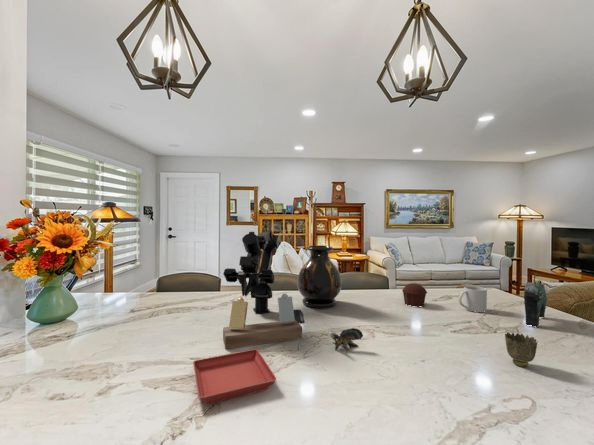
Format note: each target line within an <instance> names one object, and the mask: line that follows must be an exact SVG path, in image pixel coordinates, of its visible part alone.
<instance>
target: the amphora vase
mask: <svg viewBox="0 0 594 445" xmlns="http://www.w3.org/2000/svg"><path fill="white" fill-rule="evenodd" d="M306 250H308V251H309V252H310V257H309V259H308V260H307V261H306V262H305V263H304V264H303V265H302V267H301V268H300V270H299V273H298V276H297V281H296V282H297V283H296V284H297V289H298V291H299V293H300V294H301V296H302V297H303V298H302V299H301V300H302V301H301V302H302V304H303V305H304V306H306V307H309V308H313V309H327V308H328V309H329V308H332V307H334V306H335V305H336V304H337V300H336V299H335V298H337V296H338V295H339V294H340V293H341V290H342V283H343V282H342V278H341V272H340V270H339V268H338V267H337V266H336V265H335V263H334V262H333V261H332V260H331V259H330V257H329V254H330V252H331V251H333V250H334V247H333V246H329V245H310V246H309V245H307V247H306Z"/></svg>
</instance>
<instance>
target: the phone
mask: <svg viewBox="0 0 594 445" xmlns="http://www.w3.org/2000/svg"><path fill="white" fill-rule="evenodd" d="M293 310H294V318H295V320H296V321H297V322H298V323H299V324H304V323H305V319H304V315H303V311H302V310H301V309H293Z"/></svg>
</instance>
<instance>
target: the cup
mask: <svg viewBox="0 0 594 445" xmlns="http://www.w3.org/2000/svg"><path fill="white" fill-rule="evenodd" d="M504 338H505V339H504V340H505V347H506V350H507V353H508V355H509V356H510V358H512V363H513V364H514V365H515V366H518V367H521V368H527V367H528V366H529V365H530V364H529V363H530V362H532V361H534V359H535V356H536V352H537V348H538V343H539V342H538V341H537V339H536V338H534V336H530V337H529V335H528V334H527V335H525V336H524V334H523V333H519V332H516V334H515V333H514V332H506V333H505V334H504Z"/></svg>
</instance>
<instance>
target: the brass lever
mask: <svg viewBox="0 0 594 445" xmlns="http://www.w3.org/2000/svg"><path fill="white" fill-rule="evenodd" d="M248 305H249V302H248V301H245V300H244V298H243V297H238V298H237V300H233V301H232V305H231V310H230V318H229V323H228V324H229V325H228V327H230V328H245V325H246V321H247V313H248Z"/></svg>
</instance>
